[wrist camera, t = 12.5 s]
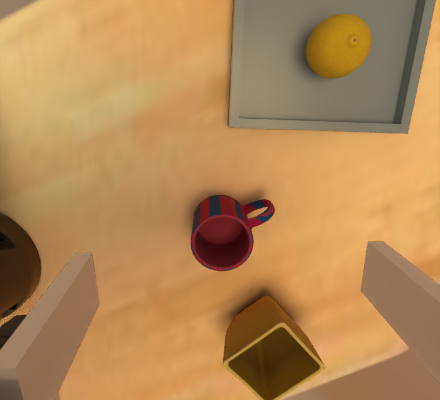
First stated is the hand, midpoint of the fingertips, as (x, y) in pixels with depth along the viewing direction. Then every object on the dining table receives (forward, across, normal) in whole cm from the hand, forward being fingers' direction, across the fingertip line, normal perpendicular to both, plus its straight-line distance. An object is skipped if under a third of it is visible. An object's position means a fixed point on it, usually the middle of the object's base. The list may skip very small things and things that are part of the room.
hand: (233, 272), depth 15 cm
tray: (+24, -12, -12) cm, 30 cm away
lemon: (+24, -12, -12) cm, 29 cm away
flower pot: (+24, -7, +21) cm, 33 cm away
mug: (+24, -3, +6) cm, 25 cm away
